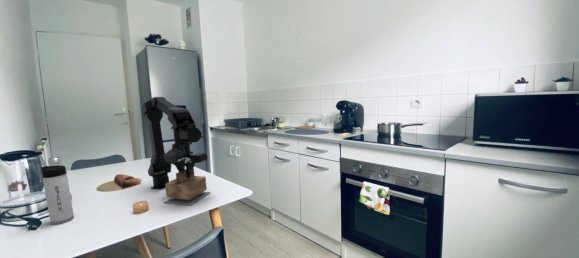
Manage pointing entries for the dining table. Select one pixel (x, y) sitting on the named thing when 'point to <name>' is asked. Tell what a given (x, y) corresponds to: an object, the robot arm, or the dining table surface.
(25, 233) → the dining table surface
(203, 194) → the mat
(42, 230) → the dining table surface
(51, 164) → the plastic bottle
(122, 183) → the brown slipper
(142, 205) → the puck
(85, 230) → the dining table surface
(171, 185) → the cover
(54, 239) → the dining table surface
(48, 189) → the travel mug
